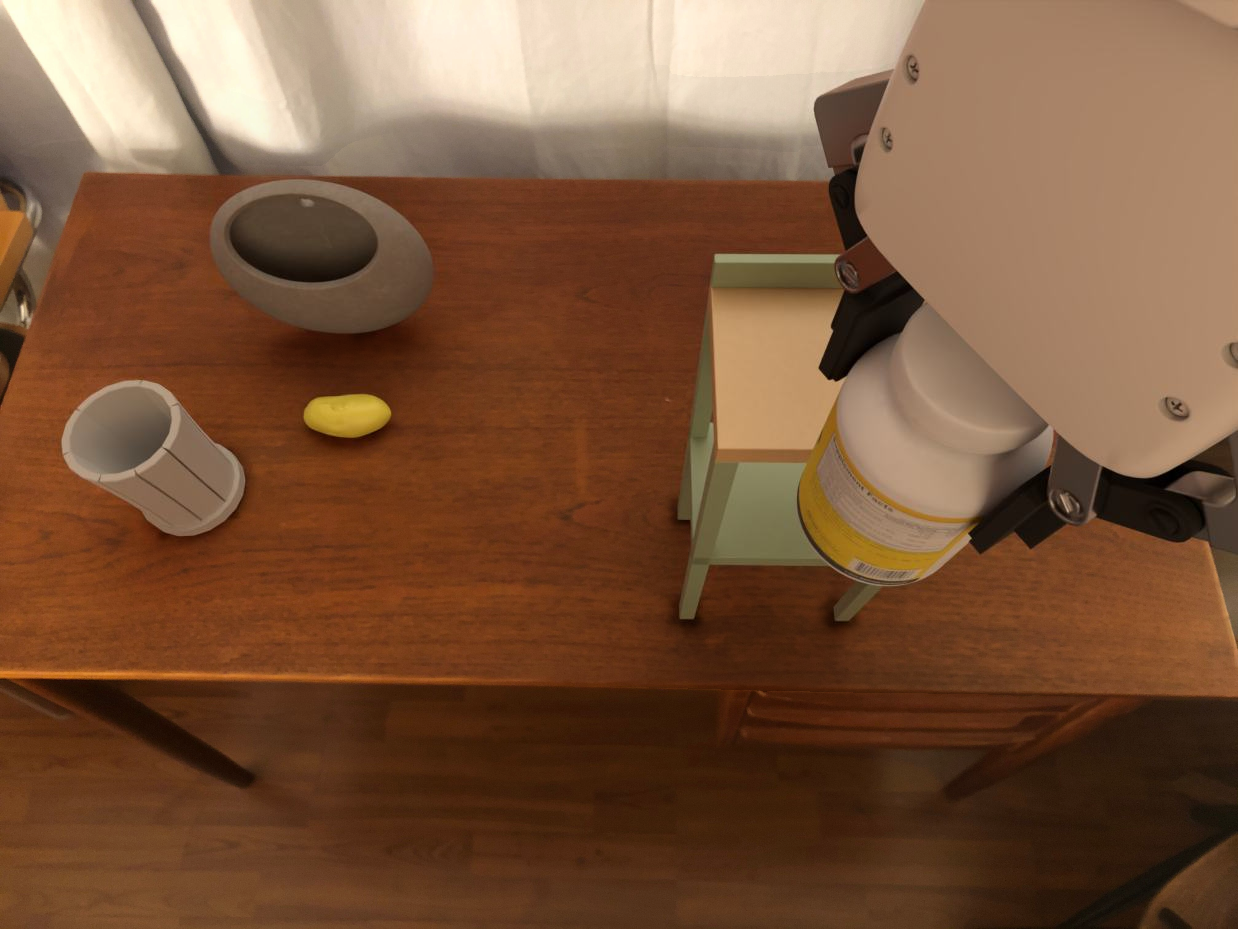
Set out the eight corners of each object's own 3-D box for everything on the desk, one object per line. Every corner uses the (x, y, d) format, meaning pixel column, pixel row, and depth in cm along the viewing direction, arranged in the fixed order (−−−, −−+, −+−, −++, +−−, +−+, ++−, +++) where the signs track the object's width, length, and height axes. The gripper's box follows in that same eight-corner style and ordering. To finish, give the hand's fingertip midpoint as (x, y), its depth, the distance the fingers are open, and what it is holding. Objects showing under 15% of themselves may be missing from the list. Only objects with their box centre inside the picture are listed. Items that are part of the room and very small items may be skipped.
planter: (260, 362, 77) (156, 226, 60) (269, 302, 80) (173, 158, 63) (451, 350, 78) (401, 212, 61) (453, 291, 81) (406, 144, 64)
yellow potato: (316, 403, 75) (300, 382, 72) (399, 407, 75) (388, 385, 71) (306, 443, 73) (290, 423, 70) (392, 446, 73) (380, 426, 70)
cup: (111, 508, 71) (17, 447, 60) (175, 425, 74) (98, 354, 64) (207, 553, 69) (129, 499, 58) (268, 466, 72) (205, 400, 62)
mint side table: (849, 621, 66) (1528, -65, 16) (679, 619, 66) (832, -64, 16) (836, 509, 70) (1343, -306, 20) (677, 507, 70) (794, -303, 21)
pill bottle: (928, 434, 34) (1064, 249, 23) (976, 581, 31) (1154, 447, 20) (776, 452, 33) (844, 273, 23) (811, 602, 31) (905, 476, 20)
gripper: (2520, 53, 7) (1223, 595, 24) (1108, -518, 14) (849, 216, 30) (2188, 438, 6) (1038, 737, 22) (759, -414, 12) (684, 304, 28)
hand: (931, 434), depth 26 cm, fingers closed on pill bottle, 6 cm apart
